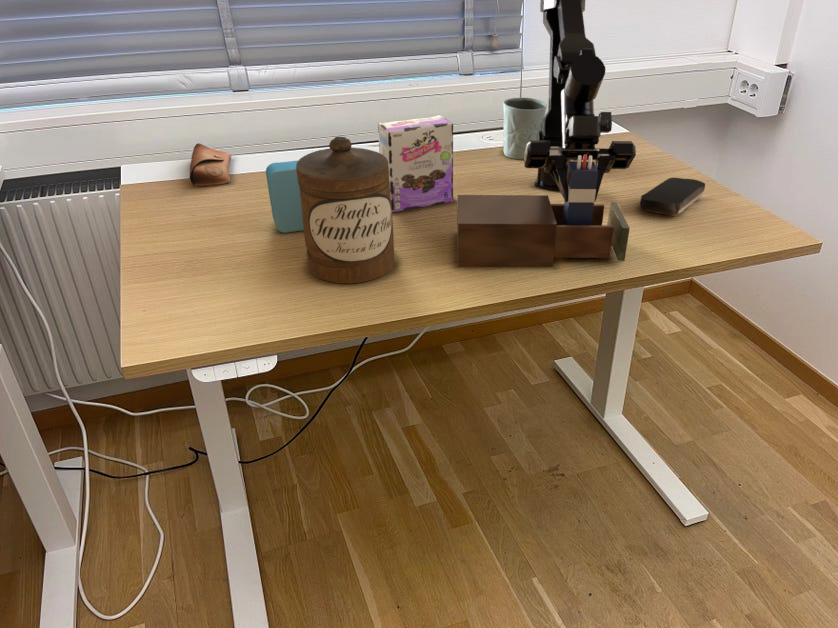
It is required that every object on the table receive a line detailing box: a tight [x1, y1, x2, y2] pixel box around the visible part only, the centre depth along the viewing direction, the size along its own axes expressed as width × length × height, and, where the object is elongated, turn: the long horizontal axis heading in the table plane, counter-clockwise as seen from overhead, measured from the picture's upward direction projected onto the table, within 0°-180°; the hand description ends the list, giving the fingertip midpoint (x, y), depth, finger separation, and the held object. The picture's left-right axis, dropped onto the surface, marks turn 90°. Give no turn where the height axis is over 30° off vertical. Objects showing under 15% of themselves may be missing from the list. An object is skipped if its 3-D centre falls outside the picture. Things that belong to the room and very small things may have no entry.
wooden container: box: [296, 136, 395, 284], centre depth 116 cm, size 15×15×22 cm
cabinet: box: [456, 194, 557, 268], centre depth 125 cm, size 17×13×8 cm
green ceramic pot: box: [502, 97, 548, 160], centre depth 167 cm, size 10×10×12 cm
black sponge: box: [639, 177, 706, 217], centre depth 145 cm, size 16×8×4 cm, turn 143°
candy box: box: [377, 115, 454, 213], centre depth 140 cm, size 14×6×16 cm, turn 117°
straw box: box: [562, 154, 598, 225], centre depth 122 cm, size 4×4×15 cm
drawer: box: [550, 201, 631, 262], centre depth 126 cm, size 17×11×6 cm
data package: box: [265, 160, 304, 234], centre depth 131 cm, size 12×4×12 cm, turn 112°
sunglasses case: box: [189, 143, 233, 187], centre depth 156 cm, size 18×7×7 cm
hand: (580, 201), depth 121 cm, fingers closed on straw box, 4 cm apart
